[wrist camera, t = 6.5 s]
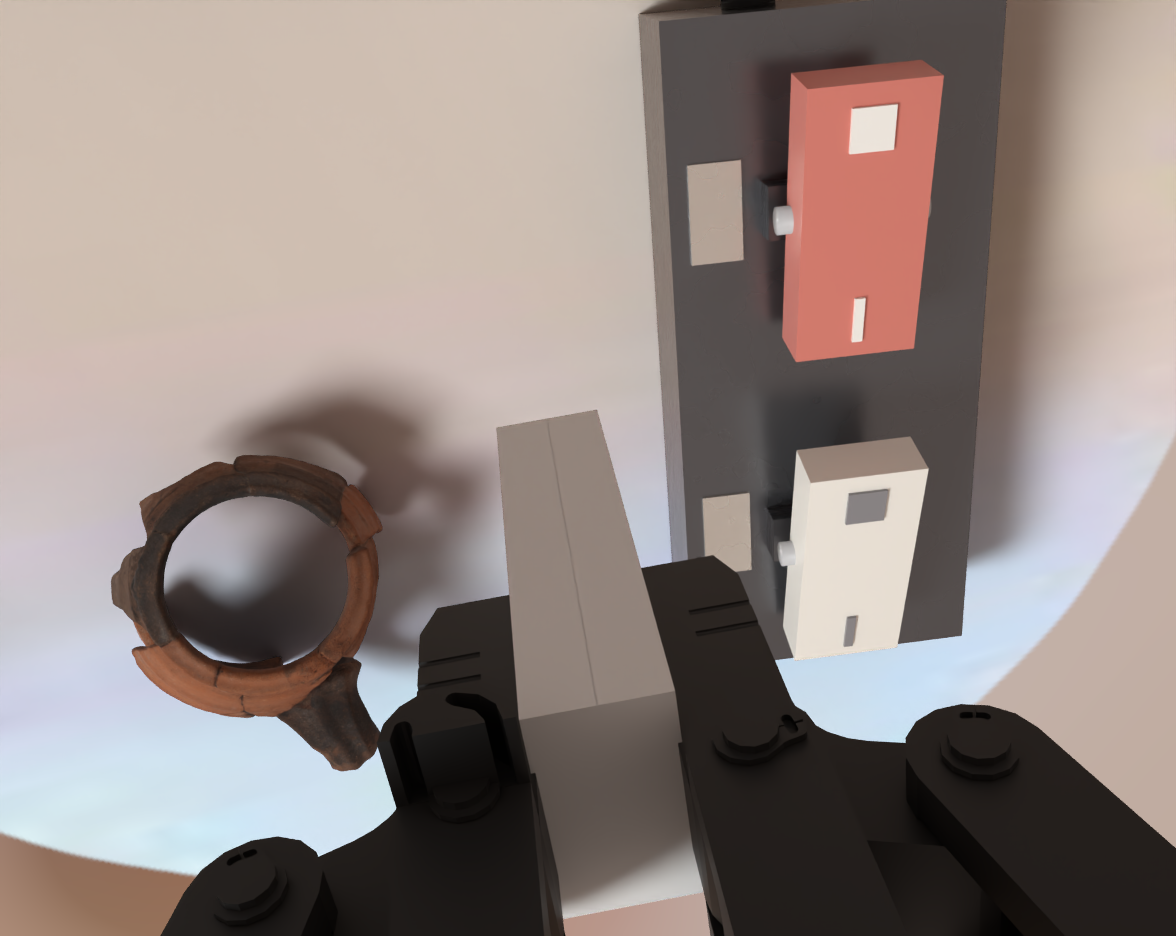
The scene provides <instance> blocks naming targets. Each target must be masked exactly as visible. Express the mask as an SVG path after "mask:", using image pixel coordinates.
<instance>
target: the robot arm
mask: <svg viewBox="0 0 1176 936" xmlns="http://www.w3.org/2000/svg"><path fill="white" fill-rule="evenodd" d="M497 440H498V454H499V467H500V480H501V493H502V506H503V519H504V532H505V545H506V558H507V571H508V584H509V595H507V596H501V597H496V598H490V599H485V600H479V601H474V602H468V603H463V604H457V605H452V606H447V607H441V608H437V610H436V611H435V613H434V614H433V616H432V617H431V619H430V621H429V622H428V624H427V625H426V627H425V628H424V630H423V631H422V633H421V635H420V644H419V668H418V684H417V686H418V691H417V697H415V698H413V699H412V700H410V701H408V702H407V703H405V704H403V705H402V706H400V707H399V708H398V709H397V710H396V711H395V712H394V713H393V714H392V715H391V717H390V718H389V719H388V720H387V721H386V722H385V723H384V724H383V727H382V730H381V732H380V735H379V738H378V741H377V746H378V749H379V752H380V756H381V759H382V762H383V765H384V769H385V772H386V775H387V778H388V782H389V785H390V788H391V791H392V795H393V798H394V801H395V804H396V810H395V812H394V813H393V814H392V815H391V816H390V817H389V818H388V819H387V820H386V821H384V822H383V823H382V824H381V825H379V826H378V827H377V828H375V829H374V830H373V831H371V832H369V833H367V834H366V835H364V836H362V837H360V838H358V839H357V840H355V841H353V842H351V843H348V844H346V845H344V846H342V847H339V848H337V849H335V850H333V851H331V852H328V853H326V854H324V855H322V856H319V857H318V855H317V852H316V851H314V850H313V849H311V848H310V847H309V846H307V845H306V844H305V843H303V842H302V841H301V840H295V839H289V838H283V837H272V838H266V839H259V840H253V841H250V842H247V843H245V844H243V845H241V846H238V847H236V848H234V849H231V850H229V851H227V852H225V853H223V854H222V855H221V856H219V857H218V858H217V859H215V860H214V861H213V862H212V863H210V864H209V865H208V866H206V867H205V868H204V869H202V870H201V871H200V873H199V874H198V875H197V877H196V878H195V879H194V880H193V882H192V883H191V884H190V886H189V887H188V888H187V890H186V891H185V892H184V894H183V896H182V898H181V899H180V901H179V903H178V905H177V907H176V909H175V910H174V912H173V914H172V916H171V918H170V920H169V921H168V923H167V925H166V927H165V929H164V930H163V932H162V934H161V936H565V932H564V925H563V918H564V919H565V918H571V917H575V916H581V915H586V914H591V913H597V912H602V911H607V910H613V909H617V908H623V907H628V906H634V905H638V904H643V903H649V902H654V901H660V900H665V899H670V898H675V897H681V896H686V895H691V894H696V893H702V892H703V891H704V895H705V899H706V906H707V913H708V920H709V928H710V935H711V936H1176V848H1175V847H1174V846H1172V845H1171V844H1170V843H1169V842H1168V841H1167V840H1166V839H1165V838H1164V837H1162V836H1161V835H1160V834H1159V833H1158V832H1157V831H1156V830H1154V829H1153V828H1152V827H1151V826H1150V825H1149V824H1147V823H1146V822H1145V821H1144V820H1143V819H1142V818H1141V817H1139V816H1138V815H1137V814H1136V813H1135V812H1134V811H1133V810H1132V809H1130V808H1129V807H1128V806H1127V805H1126V804H1125V803H1124V802H1122V801H1121V800H1120V799H1119V798H1118V797H1117V796H1116V795H1114V794H1113V793H1112V792H1111V791H1110V790H1109V789H1108V788H1107V787H1105V786H1104V785H1103V784H1102V783H1101V782H1099V780H1097V779H1096V778H1095V777H1094V776H1093V775H1092V774H1091V773H1089V772H1088V771H1087V770H1086V769H1085V768H1083V767H1082V766H1081V765H1080V764H1079V763H1078V762H1077V761H1076V760H1075V759H1073V758H1072V757H1071V756H1070V755H1069V754H1068V753H1067V752H1065V751H1064V750H1063V749H1062V748H1061V747H1060V746H1059V745H1057V744H1056V743H1055V742H1054V741H1053V740H1052V739H1051V738H1049V737H1048V736H1047V735H1046V734H1045V733H1044V732H1043V731H1042V730H1040V729H1039V728H1038V727H1036V726H1035V725H1033V724H1032V723H1030V722H1028V721H1027V720H1025V719H1023V718H1022V717H1020V716H1019V715H1017V714H1015V713H1012V712H1008V711H1005V710H1002V709H999V708H995V707H992V706H988V705H987V706H986V705H966V704H960V705H955V706H951V707H946V708H941V709H937V710H934V711H933V712H931V713H929V714H928V715H926V716H924V717H923V718H921V719H919V720H918V721H916V723H915V724H914V726H913V727H912V729H911V730H910V732H909V733H908V735H907V737H906V743H895V742H877V741H865V740H857V739H850V738H845V737H842V736H839V735H836V734H833V733H830V732H827V731H825V730H823V729H821V728H820V727H818V726H816V725H815V724H814V722H813V721H812V720H811V718H810V717H809V716H808V714H807V713H806V712H805V711H803V710H801V709H799V708H798V707H796V706H795V705H794V703H793V702H792V700H791V698H790V695H789V693H788V691H787V688H786V686H785V683H784V681H783V679H782V676H781V674H780V672H779V669H778V667H777V665H776V662H775V660H774V657H773V655H772V653H771V650H770V648H769V646H768V643H767V641H766V638H765V636H764V634H763V631H762V629H761V627H760V625H759V624H758V619H757V617H756V615H755V612H754V610H753V608H752V605H751V604H750V602H749V598H748V596H747V593H746V591H745V589H744V586H743V584H742V581H741V579H740V577H739V574H738V573H736V572H735V571H734V570H732V569H731V568H730V567H728V566H727V565H726V564H724V563H723V562H722V561H720V560H719V559H718V558H716V557H715V556H714V555H710V556H705V557H699V558H694V559H688V560H683V561H678V562H672V563H667V564H661V565H656V566H650V567H645V568H641V567H640V563H639V559H638V556H637V552H636V549H635V545H634V541H633V538H632V534H631V531H630V527H629V523H628V520H627V516H626V513H625V509H624V505H623V502H622V498H621V495H620V491H619V487H618V484H617V480H616V477H615V473H614V469H613V466H612V462H611V459H610V455H609V451H608V448H607V444H606V441H605V437H604V433H603V430H602V426H601V423H600V419H599V415H598V412H597V410H593V411H587V412H582V413H576V414H571V415H565V416H559V417H554V418H548V419H543V420H537V421H531V422H526V423H520V424H515V425H509V426H503V427H498V428H497ZM702 887H703V889H702ZM562 913H563V915H562Z"/></svg>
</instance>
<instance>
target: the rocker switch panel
mask: <svg viewBox="0 0 1176 936" xmlns="http://www.w3.org/2000/svg"><path fill="white" fill-rule="evenodd" d="M1006 1H1007V0H778V1H775V0H721V6H717V7H707V8H697V9H687V10H676V11H666V12H656V13H646V14H639V31H640V47H641V63H642V80H643V96H644V112H645V128H646V145H647V161H648V177H649V194H650V210H651V226H652V243H653V259H654V275H655V292H656V308H657V324H658V341H659V357H660V373H661V390H662V406H663V422H664V439H665V455H666V471H667V487H668V504H669V520H670V536H671V553H672V562H678V561H683V560H688V559H694V558H699V557H705V556H710V555H714V556H715V557H716V558H718V559H719V560H720V561H722V562H723V563H724V564H726V565H727V566H728V567H730V568H731V569H732V570H734V571H735V572H736V573H738V574H739V577H740V579H741V581H742V584H743V586H744V589H745V591H746V593H747V596H748V598H749V602H750V604H751V605H752V608H753V610H754V612H755V615H756V617H757V619H758V624H759V625H760V627H761V629H762V631H763V634H764V636H765V638H766V641H767V643H768V646H769V648H770V650H771V653H772V655H773V657H774V660H779V659H787V658H794V657H793V654H792V651H791V648H790V645H789V643H788V640H787V637H786V634H785V631H784V628H783V620H784V607H785V594H786V581H787V568H788V566H781V564H780V562H779V558H778V550H777V546H778V542H784V541H790V529H791V517H792V504H793V491H794V478H795V465H796V452H797V450H802V449H811V448H819V447H827V446H835V445H844V444H852V443H860V442H869V441H877V440H885V439H893V438H902V437H911V438H912V440H913V442H914V444H915V446H916V447H917V449H918V451H919V453H920V454H921V456H922V458H923V460H924V461H925V463H926V465H927V467H928V468H929V469H928V475H927V481H926V486H925V492H924V498H923V503H922V509H921V515H920V520H919V526H918V532H917V537H916V544H915V549H914V554H913V560H912V566H911V571H910V577H909V583H908V588H907V594H906V600H905V605H904V611H903V617H902V622H901V628H900V634H899V639H898V644H901V643H909V642H916V641H924V640H932V639H939V638H947V637H955V636H962V624H963V610H964V596H965V582H966V568H967V553H968V539H969V525H970V511H971V497H972V483H973V468H974V454H975V440H976V426H977V412H978V398H979V383H980V369H981V355H982V341H983V327H984V313H985V299H986V284H987V270H988V256H989V242H990V228H991V214H992V199H993V185H994V171H995V157H996V143H997V129H998V114H999V100H1000V86H1001V72H1002V58H1003V44H1004V29H1005V15H1006ZM914 60H923V61H924V62H926V63H927V64H928V65H930V66H931V67H933V68H934V69H936V70H937V71H939V72H940V73H941V74H943V75H944V79H943V88H942V97H941V106H940V115H939V124H938V133H937V142H936V152H935V161H934V170H933V179H932V188H931V197H930V198H931V214H930V216H929V218H928V224H927V234H926V243H925V252H924V261H923V270H922V279H921V288H920V297H919V306H918V315H917V325H916V334H915V343H914V348H913V349H905V350H896V351H887V352H879V353H870V354H862V355H853V356H844V357H836V358H827V359H819V360H810V361H802V362H796V361H795V359H794V358H793V356H792V354H791V352H790V351H789V349H788V347H787V345H786V343H785V342H784V340H783V338H782V330H783V300H784V271H785V241H786V235H776V234H775V231H774V226H773V210H774V208H775V207H780V206H787V182H788V152H789V123H790V93H791V73H797V72H807V71H816V70H826V69H836V68H846V67H856V66H865V65H875V64H885V63H895V62H904V61H914Z"/></svg>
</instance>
